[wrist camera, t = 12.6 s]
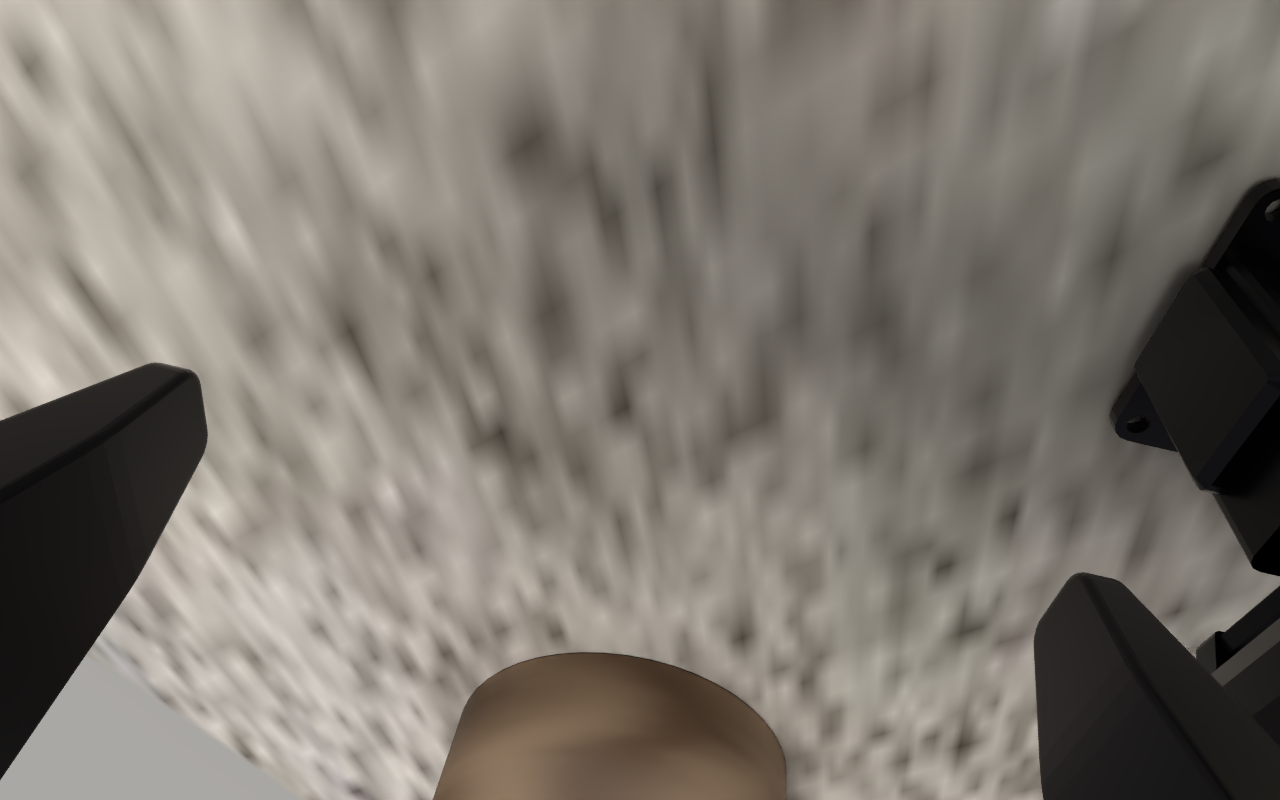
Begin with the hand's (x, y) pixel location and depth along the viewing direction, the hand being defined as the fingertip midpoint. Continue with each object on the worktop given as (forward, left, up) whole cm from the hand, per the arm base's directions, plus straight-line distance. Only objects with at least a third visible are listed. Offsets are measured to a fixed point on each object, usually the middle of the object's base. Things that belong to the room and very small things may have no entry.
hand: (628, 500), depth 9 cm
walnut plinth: (-2, +24, -12) cm, 27 cm away
